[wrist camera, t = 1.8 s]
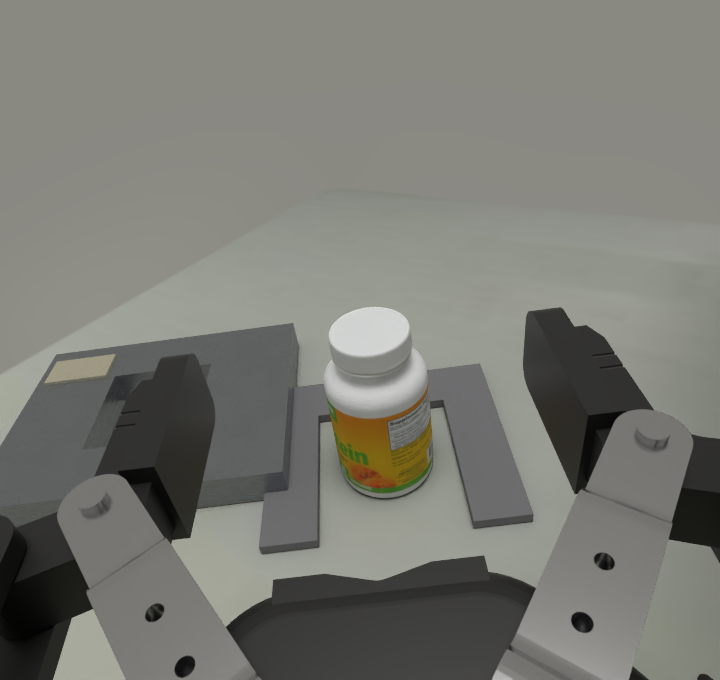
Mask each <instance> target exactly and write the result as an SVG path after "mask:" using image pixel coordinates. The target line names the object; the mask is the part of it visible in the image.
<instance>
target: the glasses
mask: <svg viewBox="0 0 720 680" xmlns="http://www.w3.org/2000/svg"><path fill="white" fill-rule="evenodd" d="M698 680H713V679H712V678H710V677H709V676H708V675H706V674H700V675H699V676H698Z"/></svg>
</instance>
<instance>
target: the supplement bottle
mask: <svg viewBox="0 0 720 680" xmlns="http://www.w3.org/2000/svg"><path fill="white" fill-rule="evenodd" d="M329 344H330V350H331V356H332V359H331V361H330V362H329V364H328V366H327V368H326V370H325V374H324V388H325V394H326V398H327V403H328V407H329V412H330V417H331V421H332V426H333V431H334V435H335V440H336V445H337V450H338V454H339V459H340V464H341V468H342V471H343V474H344V476H345V478H346V480H347V481H348V483H349V484H350V485H351V486H352V487H353V488H355V489H356V490H358V491H359V492H361V493H363V494H366V495H368V496H372V497H377V498H392V497H398V496H401V495H404V494H406V493H409V492H411V491H412V490H414V489H416V488H417V487H418V486H419V485H420V484H421V483H423V481H424V480H425V479H426V478H427V476H428V474H429V472H430V470H431V467H432V463H433V443H432V429H431V413H430V398H429V382H428V373H427V368H426V364H425V362H424V360H423V358H422V357H421V355H420V354H419V353H418V352H417V351H416V350H415V349H414V348H412V339H411V331H410V325H409V323H408V321H407V319H406V318H405V317H404V316H403V315H402V314H400V313H399V312H397V311H395V310H392V309H388V308H382V307H368V308H362V309H357V310H354V311H351V312H349V313H347V314H345V315H343V316H342V317H340V318H339V319H338V320H336V321H335V322H334V324H333V325H332V326H331V328H330V331H329Z"/></svg>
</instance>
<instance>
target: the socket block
mask: <svg viewBox="0 0 720 680" xmlns="http://www.w3.org/2000/svg"><path fill="white" fill-rule="evenodd" d="M298 351H299V345H298V341H297V337H296V333H295V329H294V325H293V323H291V324H283V325H276V326H268V327H261V328H253V329H246V330H238V331H231V332H223V333H215V334H208V335H200V336H193V337H185V338H178V339H170V340H163V341H155V342H148V343H140V344H133V345H125V346H118V347H110V348H103V349H95V350H88V351H80V352H73V353H65V354H58V355H56V356H55V358H54V359H53V361H52V363H51V364H50V366H49V368H48V369H47V371H46V373H45V374H44V376H43V377H42V379H41V381H40V382H39V384H38V386H37V387H36V389H35V390H34V392H33V394H32V395H31V397H30V399H29V400H28V402H27V404H26V405H25V407H24V408H23V410H22V412H21V413H20V415H19V417H18V418H17V420H16V421H15V423H14V425H13V426H12V428H11V430H10V431H9V433H8V434H7V436H6V438H5V439H4V441H3V443H2V444H1V446H0V515H2V516H5V517H7V518H8V519H9V520H10V521H11V522H12V523H13V524H14V526H15V527H19V526H22V525H24V524H27V523H29V522H32V521H35V520H37V519H40V518H43V517H45V516H48V515H51V514H53V513H55V512H58V509H59V507H60V504H61V503H62V501H63V499H64V498H65V497H66V496H67V494H69V493H70V492H71V491H72V490H73V489H74V488H75V487H76V486H78V485H79V484H81V483H82V482H84V481H86V480H88V479H90V478H93V477H94V476H95V474H96V471H97V469H98V466H99V464H100V462H101V459H102V457H103V454H104V452H105V450H106V447H107V445H108V442H109V440H110V438H111V435H112V433H113V430H114V429H115V427H116V423H117V421H118V419H119V416H120V415H121V411H122V409H123V407H124V404H125V402H126V399H127V397H128V395H129V394H130V393H131V392H132V391H133V390H134V389H135V388H136V387H137V386H138V385H139V384H140V383H141V381H142V380H150V379H153V376H154V373H155V371H156V368H157V366H158V363H159V361H160V359H161V358H162V357H167V356H175V355H183V354H191V353H193V354H195V355H196V357H197V359H198V361H199V364H200V366H201V369H202V372H203V374H204V377H205V380H206V382H207V385H208V388H209V390H210V393H211V396H212V399H213V402H214V407H215V426H214V431H213V436H212V440H211V445H210V449H209V454H208V458H207V463H206V468H205V472H204V477H203V481H202V486H201V490H200V495H199V500H198V504H197V508H204V507H212V506H221V505H229V504H237V503H245V502H253V501H261V500H264V494H265V493H269V492H278V491H286V490H288V486H289V469H290V453H291V436H292V419H293V403H294V388H295V387H297V369H298Z"/></svg>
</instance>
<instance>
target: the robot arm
mask: <svg viewBox="0 0 720 680" xmlns="http://www.w3.org/2000/svg"><path fill="white" fill-rule="evenodd" d="M523 370H524V377H525V381H526V385H527V387H528V390H529V392H530V394H531V397H532V399H533V401H534V403H535V406H536V408H537V410H538V412H539V415H540V417H541V419H542V421H543V424H544V426H545V428H546V430H547V433H548V435H549V437H550V439H551V442H552V444H553V446H554V448H555V451H556V453H557V455H558V457H559V460H560V462H561V464H562V467H563V469H564V471H565V473H566V476H567V478H568V480H569V482H570V485H571V487H572V489H573V491H574V494H578V495H577V497H576V499H575V501H574V504H573V506H572V508H571V510H570V513H569V515H568V517H567V519H566V522H565V524H564V526H563V528H562V531H561V533H560V535H559V538H558V540H557V542H556V544H555V547H554V549H553V551H552V553H551V556H550V558H549V560H548V562H547V565H546V567H545V569H544V572H543V574H542V576H541V578H540V581H539V583H538V585H537V587H536V588H535V587H533V586H531V585H529V584H527V583H525V582H523V581H520V580H518V579H515V578H512V577H510V576H506V575H502V574H498V573H492V572H488V569H487V565H486V561H485V557H484V556H476V557H468V558H459V559H450V560H441V561H433V562H429V563H427V564H424V565H421V566H419V567H416V568H414V569H411V570H408V571H406V572H403V573H400V574H398V575H395V576H392V577H390V578H387V579H384V580H380V581H373V580H365V579H358V578H351V577H343V576H336V575H329V574H320V575H311V576H303V577H294V578H285V579H277V580H273V590H272V597H271V598H268V599H266V600H264V601H262V602H260V603H258V604H256V605H254V606H252V607H251V608H249V609H248V610H246V611H245V612H243V613H242V614H240V615H239V616H238V617H237V618H236V619H234V620H233V621H232V622H231V623H230V624H229V625H228V626H227V627H225V625H224V624H223V622H222V621H221V619H220V618H219V616H218V615H217V613H216V612H215V610H214V609H213V607H212V606H211V604H210V603H209V601H208V600H207V598H206V597H205V595H204V594H203V592H202V591H201V589H200V588H199V586H198V585H197V583H196V582H195V580H194V579H193V577H192V576H191V574H190V573H189V571H188V570H187V568H186V567H185V565H184V564H183V562H182V561H181V559H180V557H179V556H178V554H177V553H176V551H175V550H174V548H173V547H172V545H171V543H172V540H175V539H183V538H190V536H191V532H192V527H193V522H194V518H195V513H196V509H197V504H198V500H199V495H200V490H201V486H202V481H203V477H204V472H205V468H206V463H207V458H208V454H209V449H210V445H211V440H212V436H213V431H214V426H215V407H214V402H213V399H212V396H211V393H210V390H209V388H208V385H207V382H206V380H205V377H204V374H203V372H202V369H201V366H200V364H199V361H198V359H197V357H196V355H195V354H193V353H191V354H183V355H175V356H167V357H162V358H161V359H160V361H159V363H158V366H157V368H156V371H155V373H154V376H153V379H150V380H142V381H141V383H140V384H139V385H138V386H137V387H136V388H135V389H134V390H133V391H132V392H131V393H130V394H129V395H128V397H127V399H126V402H125V404H124V407H123V409H122V411H121V416H119V419H118V421H117V423H116V429H114V430H113V433H112V435H111V438H110V440H109V442H108V445H107V447H106V450H105V452H104V454H103V457H102V459H101V462H100V464H99V466H98V469H97V471H96V474H95V476H94V477H93V478H90V479H88V480H86V481H84V482H82V483H81V484H79V485H78V486H76V487H75V488H74V489H73V490H72V491H71V492H70V493H69V494H67V496H66V497H65V498H64V499H63V501H62V503H61V504H60V507H59V509H58V512H55V513H53V514H51V515H48V516H45V517H43V518H40V519H37V520H35V521H32V522H29V523H27V524H24V525H22V526H19V527H15V526H14V524H13V523H12V522H11V521H10V520H9V519H8V518H7V517H5V516H2V515H0V680H53V677H54V674H55V671H56V668H57V664H58V661H59V658H60V655H61V651H62V648H63V645H64V641H65V638H66V635H67V632H68V628H69V625H70V622H71V619H72V618H73V617H75V616H77V615H80V614H82V613H84V612H87V611H89V610H91V609H94V612H95V614H96V616H97V618H98V620H99V622H100V624H101V627H102V629H103V631H104V633H105V635H106V637H107V640H108V642H109V644H110V646H111V648H112V650H113V653H114V655H115V657H116V659H117V661H118V663H119V666H120V668H121V670H122V672H123V674H124V676H125V678H126V680H648V679H647V678H646V677H645V676H644V675H643V674H641V673H640V672H639V671H638V670H637V669H635V668H634V667H633V663H634V660H635V656H636V652H637V649H638V645H639V642H640V638H641V635H642V631H643V628H644V624H645V620H646V617H647V613H648V610H649V606H650V603H651V599H652V596H653V592H654V588H655V585H656V581H657V578H658V574H659V571H660V567H661V564H662V560H663V556H664V553H665V549H666V546H667V542H668V539H670V540H675V541H681V542H687V543H693V544H699V545H705V546H710V547H711V548H712V550H713V552H714V554H715V555H716V557H717V559H718V561H719V563H720V439H715V438H707V437H701V436H696V435H692V434H691V433H690V432H689V430H688V429H687V428H686V427H685V426H684V425H683V424H682V423H681V422H680V421H678V420H677V419H675V418H673V417H671V416H669V415H667V414H664V413H662V412H658V411H654V409H653V408H652V406H651V405H650V404H649V402H648V401H647V399H646V398H645V396H644V395H643V393H642V392H641V390H640V389H639V387H638V386H637V385H636V383H635V382H634V380H633V379H632V377H631V376H630V374H629V373H628V371H627V370H626V368H625V367H623V364H622V363H621V361H620V360H619V358H618V357H617V355H615V354H614V351H613V349H612V348H611V347H610V345H609V344H608V342H607V341H606V339H605V338H604V337H603V336H602V335H600V334H599V333H597V332H596V331H594V330H593V329H591V328H590V327H588V326H587V325H585V326H577V327H574V326H573V324H572V323H571V321H570V319H569V318H568V316H567V315H566V313H565V311H564V310H563V309H562V308H560V307H559V308H551V309H544V310H536V311H529V312H528V313H527V317H526V327H525V342H524V356H523Z"/></svg>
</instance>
